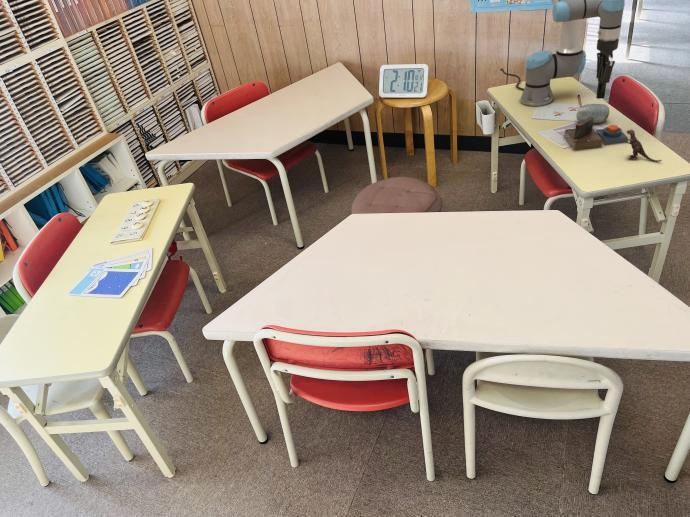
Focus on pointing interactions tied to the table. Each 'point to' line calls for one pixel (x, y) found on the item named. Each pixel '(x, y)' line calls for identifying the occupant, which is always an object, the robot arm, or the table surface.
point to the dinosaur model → (637, 147)
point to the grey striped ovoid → (593, 112)
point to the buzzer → (612, 136)
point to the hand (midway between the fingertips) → (600, 97)
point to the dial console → (583, 140)
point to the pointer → (583, 127)
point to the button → (612, 128)
